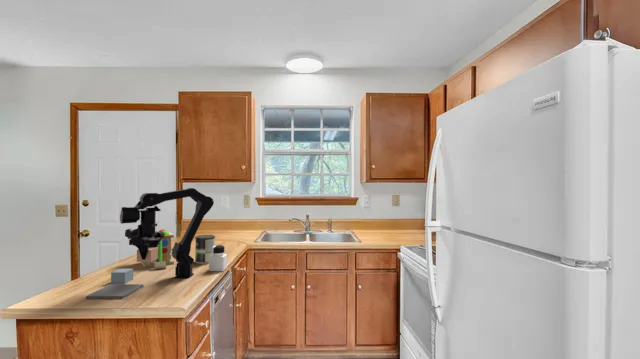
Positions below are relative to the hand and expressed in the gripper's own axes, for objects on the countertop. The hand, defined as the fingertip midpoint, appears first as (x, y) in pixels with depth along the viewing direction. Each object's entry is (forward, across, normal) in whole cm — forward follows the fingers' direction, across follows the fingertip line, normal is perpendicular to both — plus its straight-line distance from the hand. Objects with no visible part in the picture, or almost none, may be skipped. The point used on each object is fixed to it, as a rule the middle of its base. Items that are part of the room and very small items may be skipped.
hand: (147, 257), depth 139 cm
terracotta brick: (+1, 0, 0) cm, 1 cm away
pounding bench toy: (+11, -31, -10) cm, 34 cm away
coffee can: (+11, -38, +12) cm, 41 cm away
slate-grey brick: (+11, -2, -12) cm, 16 cm away
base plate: (+11, +12, -6) cm, 17 cm away
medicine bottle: (+11, -22, +24) cm, 34 cm away
